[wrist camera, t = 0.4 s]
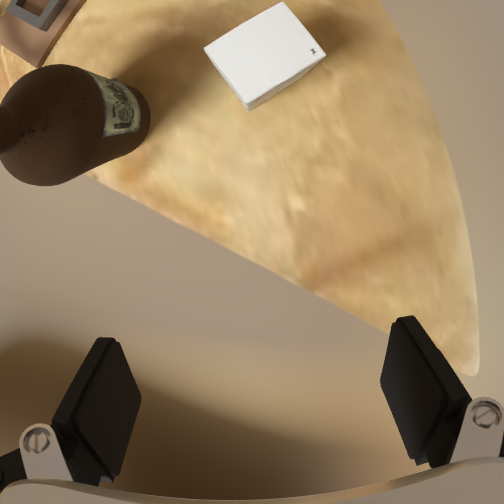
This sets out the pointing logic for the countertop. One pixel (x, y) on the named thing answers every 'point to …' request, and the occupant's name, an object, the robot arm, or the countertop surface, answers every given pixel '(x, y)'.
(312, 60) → the small box
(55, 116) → the olive oil
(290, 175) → the countertop surface
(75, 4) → the collar board
